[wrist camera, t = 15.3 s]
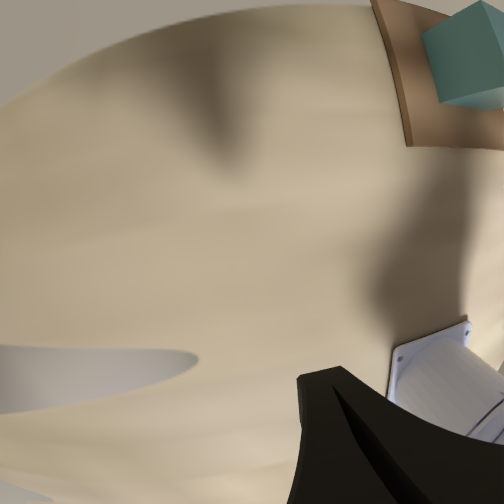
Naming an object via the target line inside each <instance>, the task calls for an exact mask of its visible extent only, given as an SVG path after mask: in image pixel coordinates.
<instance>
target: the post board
mask: <svg viewBox="0 0 504 504" xmlns="http://www.w3.org/2000/svg"><path fill="white" fill-rule="evenodd" d="M370 2H371V4H372V7H373V10H374V13H375V15H376V18H377V21H378V24H379V27H380V30H381V33H382V37H383V40H384V43H385V47H386V50H387V54H388V57H389V61H390V65H391V69H392V72H393V77H394V81H395V85H396V90H397V94H398V99H399V104H400V109H401V114H402V120H403V126H404V132H405V138H406V145H407V147H457V148H476V149H490V150H501V151H504V111H503V108H500V109H493V110H488V111H483V110H478V109H473V108H467V107H461V106H455V105H449V104H442V103H439V99H438V94H437V90H436V86H435V81H434V77H433V74H432V70H431V66H430V63H429V59H428V56H427V52H426V49H425V46H424V43H423V40H422V37H421V35H422V34H423V33H425V32H426V31H428V30H430V29H431V28H433V27H434V26H436V25H438V24H439V23H441V22H443V21H444V20H446V19H448V18H449V17H450V16H448V15H445V14H442V13H439V12H436V11H433V10H430V9H427V8H423V7H420V6H417V5H413V4H410V3H406V2H402V1H398V0H370Z"/></svg>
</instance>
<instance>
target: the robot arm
mask: <svg viewBox="0 0 504 504" xmlns="http://www.w3.org/2000/svg"><path fill="white" fill-rule="evenodd" d="M471 327H472V323H471V322H470V321H465V322H462V323H460V324H457V325H455V326H453V327H450V328H447V329H445V330H442V331H440V332H437V333H434V334H432V335H429V336H426V337H423V338H421V339H418V340H415V341H412V342H409V343H406V344H403V345H400V346H398V347H396V348H395V350H394V352H393V359H392V368H391V376H390V383H389V390H388V396H387V398H385V397H384V396H382V395H381V394H379V393H378V392H376V391H375V390H373V389H372V388H370V387H369V386H368V385H366V384H365V383H363V382H362V381H361V380H359V379H358V378H357V377H355V376H354V375H353V374H351V373H350V372H349V371H347V370H346V369H345V368H343V367H342V366H337V367H333V368H329V369H324V370H320V371H316V372H311V373H307V374H302V375H300V376H299V377H298V378H297V390H298V402H299V415H300V423H301V427H302V433H301V441H300V449H299V456H298V462H297V467H296V471H295V476H294V480H293V484H292V488H291V491H290V495H289V498H288V501H287V504H504V377H503V376H502V375H501V374H499V373H498V372H497V371H496V370H495V369H494V368H492V367H491V366H490V365H489V364H487V363H486V362H485V361H484V360H482V359H481V358H480V357H478V356H477V355H476V354H475V353H473V352H472V351H471V350H470V349H468V348H467V346H468V342H469V337H470V332H471ZM400 356H401V357H400ZM399 357H400V358H399ZM398 358H399V359H398Z"/></svg>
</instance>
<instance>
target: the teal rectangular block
mask: <svg viewBox="0 0 504 504" xmlns="http://www.w3.org/2000/svg"><path fill="white" fill-rule="evenodd" d="M421 37H422V40H423V43H424V46H425V49H426V52H427V56H428V59H429V63H430V66H431V70H432V74H433V77H434V81H435V86H436V90H437V94H438V99H439V103H442V104H449V105H455V106H461V107H467V108H473V109H478V110H483V111H488V110H493V109H500V108H504V13H503V12H501V11H500V10H498V9H496V8H494V7H493V6H491V5H489V4H487V3H485V2H484V1H482V0H479V1H478V2H476V3H474V4H472V5H470V6H468V7H467V8H465V9H463V10H461V11H460V12H458V13H456V14H454V15H453V16H451V17H449V18H448V19H446V20H444V21H443V22H441V23H439V24H438V25H436V26H434V27H433V28H431V29H430V30H428V31H426V32H425V33H423V34H422V35H421Z"/></svg>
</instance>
